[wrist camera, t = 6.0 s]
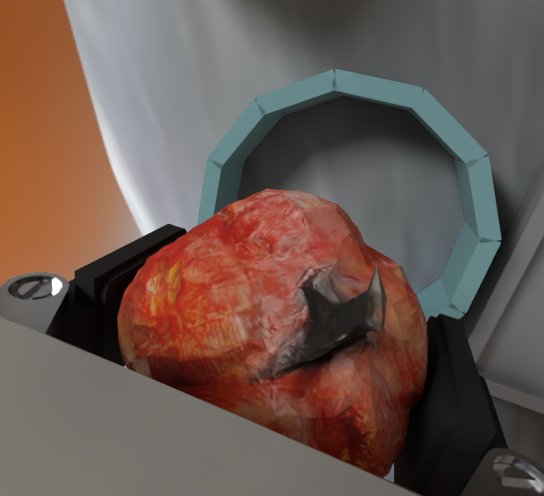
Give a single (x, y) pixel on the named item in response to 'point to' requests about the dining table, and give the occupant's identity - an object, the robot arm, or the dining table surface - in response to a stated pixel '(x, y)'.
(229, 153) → the teal polygonal ring
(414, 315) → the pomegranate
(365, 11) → the dining table surface
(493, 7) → the dining table surface
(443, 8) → the dining table surface
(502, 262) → the tray
